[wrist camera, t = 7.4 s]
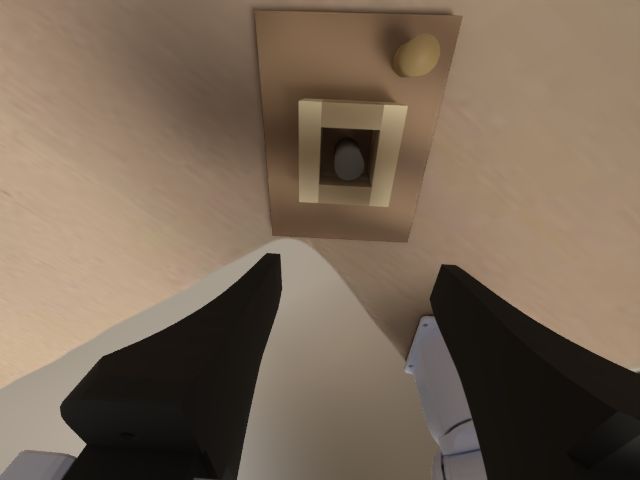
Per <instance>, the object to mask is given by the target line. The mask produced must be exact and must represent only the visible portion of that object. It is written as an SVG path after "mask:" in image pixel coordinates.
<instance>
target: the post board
mask: <svg viewBox="0 0 640 480" xmlns="http://www.w3.org/2000/svg"><path fill="white" fill-rule="evenodd" d="M462 17H463V16H458V15H419V14H379V13H339V12H300V11H260V10H255V21H256V34H257V46H258V59H259V71H260V84H261V97H262V109H263V122H264V134H265V147H266V160H267V172H268V185H269V197H270V210H271V223H272V235H273V236H290V237H310V238H329V239H348V240H368V241H387V242H408V238H409V234H410V229H411V225H412V221H413V217H414V213H415V209H416V205H417V201H418V197H419V193H420V189H421V185H422V180H423V176H424V172H425V168H426V164H427V160H428V156H429V152H430V148H431V144H432V140H433V135H434V131H435V127H436V123H437V119H438V115H439V111H440V107H441V103H442V99H443V95H444V90H445V86H446V82H447V78H448V74H449V70H450V66H451V62H452V58H453V54H454V50H455V46H456V41H457V37H458V33H459V29H460V25H461V21H462ZM304 98H307V99H329V100H350V101H372V102H394V103H399V104H403V105H406V106H408V108H407V114H406V119H405V124H404V129H403V134H402V139H401V145H400V150H399V155H398V160H397V165H396V170H395V176H394V181H393V186H392V191H391V196H390V201H389V207H378V206H361V205H343V204H325V203H307V202H299V100H302V99H304ZM371 137H372V130H367V129H347V128H326V127H323V138H322V162H321V171H335V172H336V174H337V175H338V176H339V177H340V178H341V179H343V180H347V181H350V180H354V179H356V178H358V177H359V176H360V175H361V174H362V173H367V167H368V159H369V152H370V145H371Z"/></svg>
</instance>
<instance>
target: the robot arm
mask: <svg viewBox="0 0 640 480" xmlns="http://www.w3.org/2000/svg"><path fill="white" fill-rule="evenodd" d="M280 260H281V259H280V254H271V253H267V254H265V255H264V256H263V257H262V258H261V259H260V260H259V261H258V262H257V263H256V264H255V265H254V266H253V267H252V268H251V269H250V270H249V271H248V272H247V273H246V274H244V275H243V276H242V277H241V278H240V279H239V280H238V281H237V282H236V283H234V284H233V285H232V286H231V287H229V288H228V289H227V290H226V291H225V292H223V293H222V294H221V295H219V296H218V297H217V298H215V299H214V300H213V301H211V302H209V303H208V304H207V305H205V306H204V307H202V308H201V309H199V310H197V311H196V312H194V313H193V314H191V315H189V316H187V317H185V318H184V319H182V320H180V321H179V322H177V323H175V324H174V325H171V326H169V327H167V328H166V329H164V330H162V331H160V332H158V333H155V334H154V335H151V336H149V337H147V338H145V339H143V340H141V341H139V342H136V343H134V344H132V345H129V346H127V347H124V348H122V349H120V350H117V351H115V352H113V353H111V354H108V355H105V356H103V357H102V358H101V359H100V360H99V361H98V362H97V363H96V364H95V365H94V367H93V368H92V369H91V370H90V371H89V372H88V373H87V375H86V376H85V377H84V378H83V379H82V380H81V382H80V383H79V384H78V385H77V386H76V387H75V388H74V389H73V391H72V392H71V393H70V394H69V395H68V396H67V398H66V399H65V400H64V401H63V402H62V404H61V406H60V411H61V416H62V418H63V420H64V421H65V422H66V424H67V425H68V426H69V427H70V428H71V429H72V430H73V431H74V432H75V433H76V434H77V435H78V436H79V437H80V438H81V439H82V440H83V441H84V442H85V443H86V444H87V445H86V446H85V448H84V449H83V451H82V452H81V453H80V455H79V456H78V458H76V457H74V456H71V455H69V454H63V453H54V452H43V451H32V450H25V451H22V452H20V453H19V455H18V456H17V457H16V458H15V459H14V460H13V462H12V463H11V464H10V465H9V466H8V467H7V468H6V470H5V471H4V472H3V473H2V474H1V475H0V480H237V476H238V470H239V465H240V460H241V454H242V449H243V443H244V438H245V433H246V427H247V423H248V418H249V413H250V408H251V404H252V399H253V394H254V389H255V384H256V381H257V376H258V372H259V367H260V363H261V359H262V356H263V353H264V349H265V346H266V344H267V341H268V338H269V335H270V332H271V329H272V325H273V323H274V319H275V316H276V313H277V310H278V306H279V302H280V297H281V291H282V279H281V261H280ZM430 302H431V306H432V310H433V313H434V316H423V317H422V318H421V320H420V323H419V326H418V329H417V331H416V334H415V337H414V340H413V343H412V346H411V349H410V352H409V355H408V358H407V361H406V364H405V367H404V371H405V372H406V373H412V374H414V378H415V382H416V386H417V390H418V393H419V397H420V401H421V405H422V408H423V412H424V416H425V419H426V423H427V426H428V429H429V431H430V433H431V435H432V436H433V438H434V439H435V441H436V442H437V443H438V444H439V446H440V448H441V452H437V453H436V454H435V456H434V461H433V464H432V480H640V375H639V374H637V373H635V372H633V371H631V370H628V369H626V368H624V367H622V366H620V365H617V364H615V363H613V362H611V361H609V360H607V359H605V358H603V357H601V356H599V355H597V354H595V353H593V352H591V351H589V350H587V349H585V348H583V347H581V346H579V345H577V344H575V343H573V342H571V341H570V340H568V339H566V338H564V337H562V336H561V335H559V334H557V333H555V332H554V331H552V330H550V329H548V328H547V327H545V326H543V325H542V324H540V323H538V322H537V321H535V320H533V319H532V318H530V317H529V316H527V315H526V314H524V313H523V312H521V311H520V310H518V309H517V308H515V307H514V306H512V305H511V304H509V303H508V302H506V301H505V300H503V299H502V298H501V297H499V296H498V295H496V294H495V293H494V292H492V291H491V290H490V289H488V288H487V287H486V286H484V285H483V284H481V283H480V282H479V281H477V280H476V279H475V278H473V277H472V276H471V275H469V274H468V273H467V272H465V271H464V270H462V269H461V268H459V267H458V266H456V265H444V264H442V265H441V268H440V271H439V274H438V276H437V279H436V282H435V285H434V288H433V291H432V293H431V296H430Z"/></svg>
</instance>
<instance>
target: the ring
mask: <svg viewBox="0 0 640 480" xmlns="http://www.w3.org/2000/svg"><path fill="white" fill-rule="evenodd" d="M407 108H408V106H406V105H403V104H399V103H394V102H372V101H350V100H329V99H307V98H304V99H302V100H299V202H307V203H325V204H343V205H361V206H378V207H389V201H390V196H391V191H392V186H393V181H394V176H395V170H396V165H397V160H398V155H399V150H400V145H401V139H402V134H403V129H404V124H405V119H406V114H407ZM323 127H326V128H347V129H367V130H372V137H371V145H370V152H369V159H368V167H367V173H362V174H361V175H360V176H359V177H358V178H356V179H354V180H350V181H347V180H343V179H341V178H340V177H339V176H338V175H337V174H336V172H335V171H321V162H322V138H323Z"/></svg>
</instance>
